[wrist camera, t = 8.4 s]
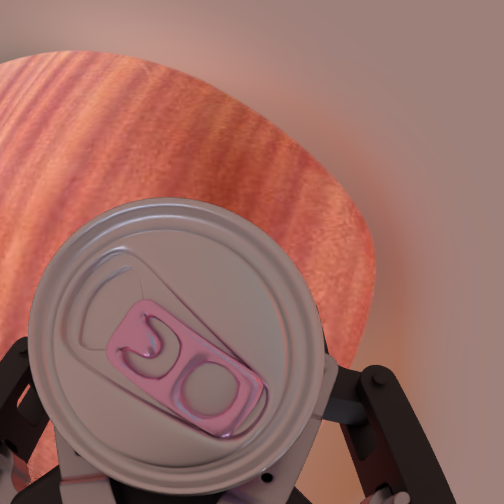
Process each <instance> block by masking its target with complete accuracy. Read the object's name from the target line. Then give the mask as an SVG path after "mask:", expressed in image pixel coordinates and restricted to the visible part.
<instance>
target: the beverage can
mask: <svg viewBox="0 0 504 504" xmlns="http://www.w3.org/2000/svg"><path fill="white" fill-rule="evenodd" d="M28 355H29V362H30V368H31V373H32V377H33V381H34V384H35V387H36V390H37V393H38V396H39V398H40V400H41V403H42V405H43V407H44V409H45V411H46V413H47V415H48V416H49V418H50V420H51V421H52V423H53V425H54V426H55V428H56V429H57V430H58V432H59V433H60V434H61V436H62V437H63V438H64V439H65V441H66V442H67V443H68V444H69V445H70V446H71V447H72V448H73V449H74V450H75V451H76V452H77V453H78V454H79V455H80V456H81V457H82V458H83V459H84V460H86V461H87V462H88V463H89V464H91V465H92V466H93V467H95V468H96V469H98V470H99V471H101V472H102V473H104V474H106V475H107V476H109V477H111V478H113V479H115V480H117V481H119V482H121V483H123V484H125V485H128V486H131V487H133V488H136V489H139V490H143V491H146V492H150V493H155V494H160V495H168V496H200V495H207V494H213V493H218V492H221V491H225V490H228V489H231V488H234V487H237V486H239V485H242V484H244V483H246V482H248V481H250V480H252V479H254V478H255V477H257V476H259V475H261V474H262V473H264V472H265V471H266V470H268V469H269V468H271V467H272V466H273V465H274V464H275V463H277V462H278V461H279V460H280V459H281V458H282V457H283V456H284V455H285V454H286V453H287V452H288V451H289V450H290V449H291V447H292V446H293V445H294V444H295V443H296V441H297V440H298V438H299V437H300V436H301V434H302V433H303V431H304V429H305V428H306V426H307V424H308V422H309V420H310V418H311V416H312V414H313V412H314V409H315V406H316V404H317V401H318V398H319V394H320V390H321V386H322V380H323V373H324V359H325V350H324V338H323V331H322V325H321V321H320V317H319V313H318V310H317V307H316V304H315V301H314V299H313V296H312V294H311V291H310V289H309V287H308V285H307V283H306V281H305V279H304V278H303V276H302V274H301V273H300V271H299V270H298V268H297V267H296V265H295V264H294V262H293V261H292V260H291V258H290V257H289V256H288V255H287V254H286V252H285V251H284V250H283V249H282V248H281V247H280V246H279V245H278V244H277V243H276V242H275V241H274V240H273V239H272V238H271V237H270V236H269V235H267V234H266V233H265V232H264V231H263V230H261V229H260V228H259V227H257V226H256V225H254V224H253V223H251V222H250V221H248V220H247V219H245V218H243V217H242V216H240V215H238V214H236V213H234V212H232V211H230V210H227V209H225V208H222V207H220V206H217V205H214V204H211V203H207V202H203V201H199V200H194V199H187V198H177V197H158V198H148V199H142V200H137V201H133V202H129V203H126V204H123V205H120V206H117V207H115V208H112V209H110V210H108V211H106V212H104V213H102V214H100V215H98V216H96V217H95V218H93V219H92V220H90V221H88V222H87V223H86V224H84V225H83V226H82V227H80V228H79V229H78V230H77V231H76V232H74V233H73V234H72V235H71V236H70V237H69V238H68V239H67V240H66V241H65V242H64V243H63V245H62V246H61V247H60V248H59V249H58V251H57V252H56V253H55V255H54V256H53V258H52V259H51V260H50V262H49V264H48V265H47V267H46V269H45V271H44V273H43V275H42V277H41V279H40V281H39V284H38V286H37V289H36V292H35V295H34V298H33V302H32V306H31V310H30V316H29V324H28Z"/></svg>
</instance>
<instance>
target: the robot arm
mask: <svg viewBox="0 0 504 504" xmlns="http://www.w3.org/2000/svg"><path fill="white" fill-rule="evenodd" d="M316 307H317V306H316ZM317 310H318V308H317ZM318 313H319V312H318ZM320 321H321V320H320ZM322 331H323V328H322ZM323 338H324V350H325V359H324V373H323V380H322V386H321V390H320V394H319V398H318V401H317V404H316V406H315V409H314V412H313V414H312V416H311V418H310V420H309V422H308V424H307V426H306V428H305V429H304V431H303V433H302V434H301V436H300V437H299V438H298V440H297V441H296V443H295V444H294V445H293V446H292V447H291V449H290V450H289V451H288V452H287V453H286V454H285V455H284V456H283V457H282V458H281V459H280V460H279V461H278V462H277V463H275V464H274V465H273V466H272V467H271V468H269V469H268V470H266V471H265V472H264V473H262V474H261V475H259V476H257V477H255V478H254V479H252V480H250V481H248V482H246V483H244V484H242V485H239V486H237V487H234V488H231V489H228V490H225V491H221V492H218V493H213V494H207V495H200V496H168V495H160V494H155V493H150V492H146V491H143V490H139V489H136V488H133V487H131V486H128V485H125V484H123V483H121V482H119V481H117V480H115V479H113V478H111V477H109V476H107V475H106V474H104V473H102V472H101V471H99V470H98V469H96V468H95V467H93V466H92V465H91V464H89V463H88V462H87V461H86V460H84V459H83V458H82V457H81V456H80V455H79V454H78V453H77V452H76V451H75V450H74V449H73V448H72V447H71V446H70V445H69V444H68V443H67V442H66V441H65V439H64V438H63V437H62V436H61V434H60V433H59V432H58V430H57V429H56V428H55V426H54V431H55V440H56V447H57V454H58V460H59V465H58V466H56V467H55V468H53V469H52V470H50V471H49V472H48V473H46V474H45V475H43V476H42V477H40V478H39V479H38V480H36V481H35V482H33V483H32V484H30V485H29V486H27V484H29V483H30V480H31V478H30V475H29V472H28V467H27V463H28V461H29V459H30V457H31V455H32V453H33V451H34V449H35V447H36V445H37V443H38V441H39V439H40V437H41V435H42V433H43V431H44V429H45V427H46V425H47V424H48V422H49V420H50V418H49V416H48V415H47V413H46V411H45V409H44V407H43V405H42V403H41V400H40V398H39V396H38V393H37V390H36V387H35V384H34V381H33V377H32V373H31V368H30V362H29V355H28V337H23V338H20V339H19V340H17V341H16V342H15V343H14V344H13V345H12V347H11V348H10V349H9V351H8V352H7V353H6V355H5V356H4V357H3V359H2V360H1V361H0V504H312V503H311V502H310V501H309V500H308V499H307V498H306V497H305V496H304V495H303V494H302V493H301V492H300V491H299V490H298V489H297V488H296V487H295V483H296V481H297V479H298V477H299V475H300V472H301V470H302V468H303V466H304V464H305V461H306V459H307V457H308V454H309V452H310V450H311V447H312V445H313V442H314V440H315V437H316V435H317V432H318V430H319V427H320V425H321V422H322V419H324V420H329V421H333V422H338V423H339V424H340V427H341V429H342V432H343V435H344V438H345V441H346V443H347V446H348V449H349V452H350V454H351V457H352V460H353V463H354V466H355V468H356V472H357V474H358V477H359V480H360V483H361V486H362V489H363V492H364V495H365V497H366V499H364V500H363V501H362V502H361V503H360V504H456V501H455V499H454V497H453V494H452V492H451V490H450V487H449V485H448V483H447V480H446V478H445V476H444V474H443V471H442V469H441V467H440V465H439V463H438V461H437V458H436V456H435V454H434V452H433V450H432V448H431V445H430V443H429V441H428V439H427V437H426V435H425V433H424V431H423V429H422V427H421V425H420V423H419V421H418V419H417V417H416V415H415V413H414V411H413V409H412V407H411V405H410V403H409V401H408V399H407V397H406V395H405V393H404V391H403V390H402V388H401V386H400V384H399V382H398V380H397V379H396V376H395V375H394V373H393V372H392V371H391V370H389V369H388V368H386V367H384V366H380V365H371V366H368V367H366V368H365V369H364V370H363V371H362V372H358V371H354V370H349V369H346V368H343V367H341V366H339V365H338V364H337V362H336V361H335V359H334V358H333V357H331V356H330V355H329V353H328V349H327V345H326V340H325V336H324V332H323ZM28 384H29V385H30V386H31V387H30V388H29V390H28V391H27V393H26V395H25V396H24V398H23V399H22V401H21V403H20V404H19V406H18V408H17V402H18V399H19V398H20V396H21V395H22V393H23V391H24V390H25V388H26V387H27V385H28Z"/></svg>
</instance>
